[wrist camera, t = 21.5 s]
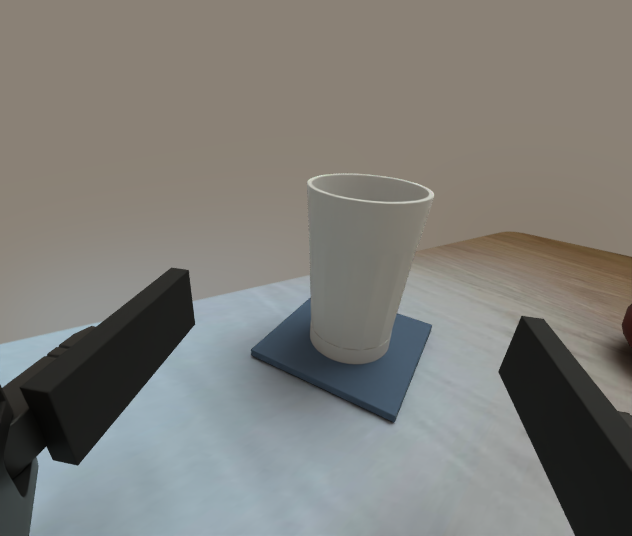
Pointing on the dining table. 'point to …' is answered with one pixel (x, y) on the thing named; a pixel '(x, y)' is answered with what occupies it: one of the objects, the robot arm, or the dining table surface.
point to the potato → (628, 325)
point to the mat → (348, 379)
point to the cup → (360, 259)
